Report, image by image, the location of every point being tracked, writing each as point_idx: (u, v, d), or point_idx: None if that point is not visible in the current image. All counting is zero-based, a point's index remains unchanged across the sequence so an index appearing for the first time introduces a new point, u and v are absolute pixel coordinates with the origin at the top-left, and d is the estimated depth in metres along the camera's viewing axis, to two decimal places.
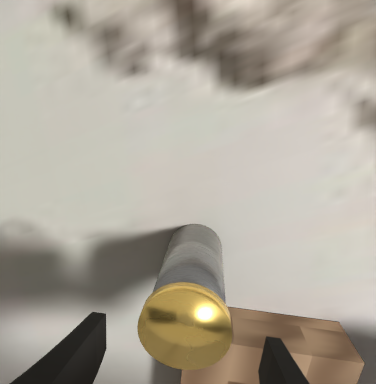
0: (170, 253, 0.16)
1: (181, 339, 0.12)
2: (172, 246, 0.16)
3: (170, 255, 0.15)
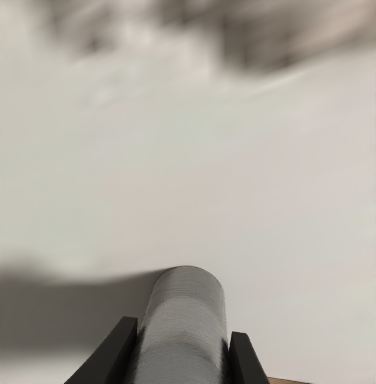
0: (148, 324, 0.10)
1: None
2: (152, 307, 0.11)
3: (147, 329, 0.10)
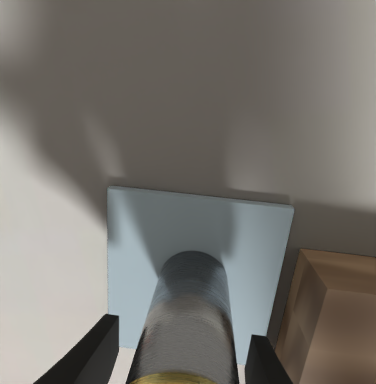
0: (155, 302, 0.11)
1: None
2: (159, 288, 0.12)
3: (155, 306, 0.11)
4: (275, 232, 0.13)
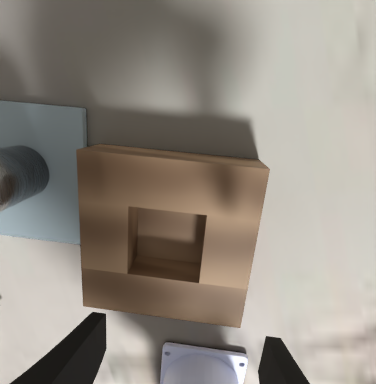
0: None
1: None
2: None
3: None
4: (73, 127, 0.18)
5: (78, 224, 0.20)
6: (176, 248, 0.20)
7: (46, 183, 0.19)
